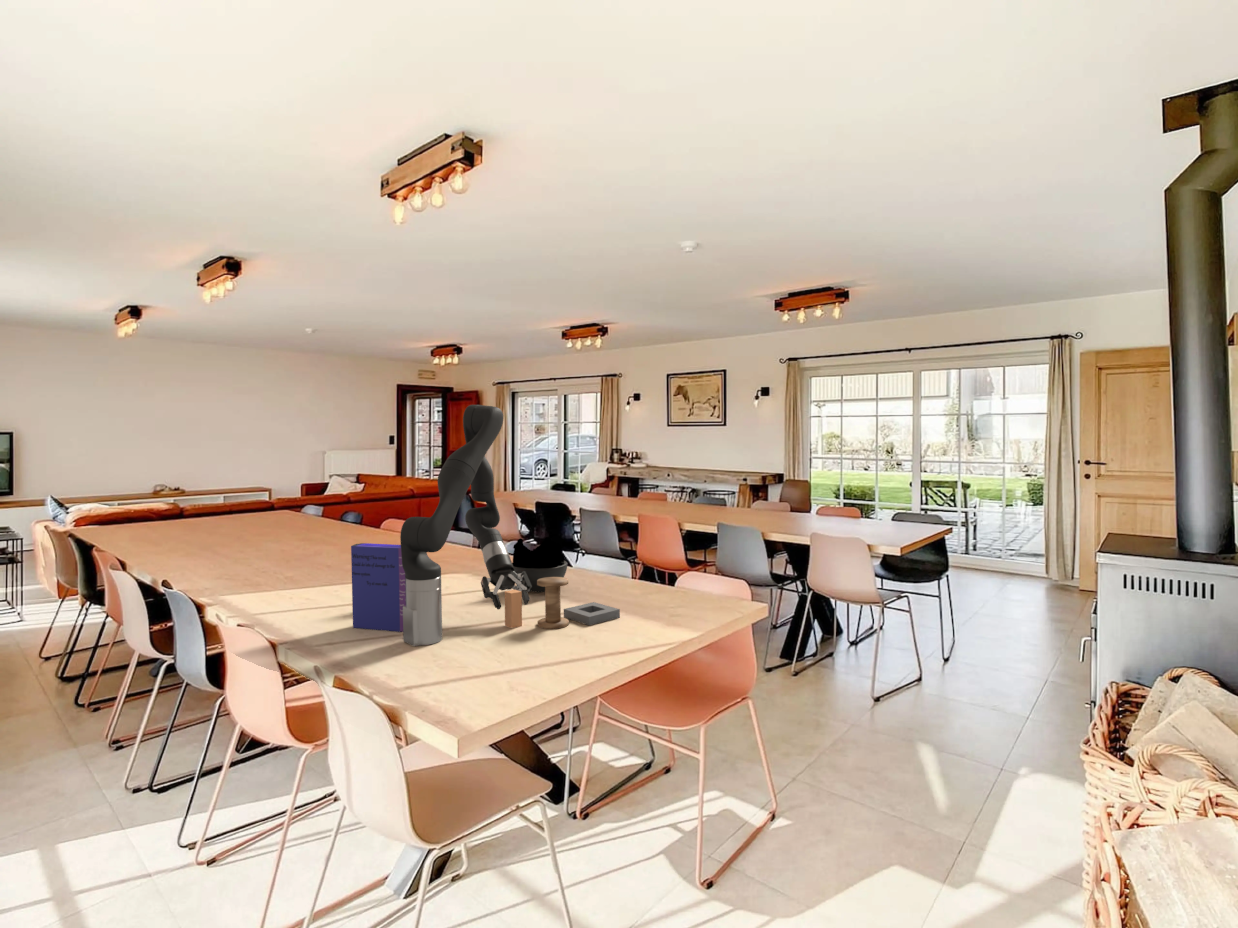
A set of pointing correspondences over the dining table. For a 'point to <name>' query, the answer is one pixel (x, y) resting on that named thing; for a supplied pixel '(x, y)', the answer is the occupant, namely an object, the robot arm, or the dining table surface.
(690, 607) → the dining table surface
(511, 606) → the orange rectangular block
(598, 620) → the block with square hole
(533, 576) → the bowl of black rocks
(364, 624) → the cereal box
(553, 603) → the bobbin
